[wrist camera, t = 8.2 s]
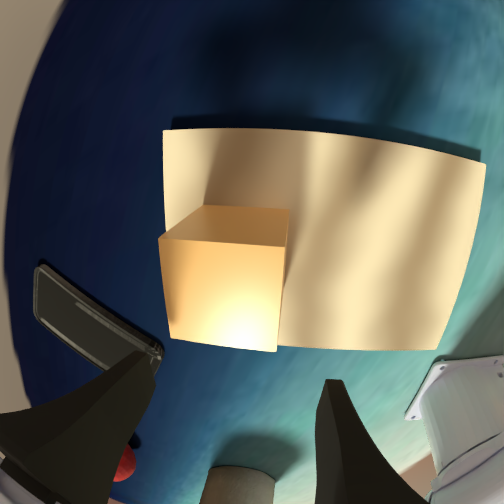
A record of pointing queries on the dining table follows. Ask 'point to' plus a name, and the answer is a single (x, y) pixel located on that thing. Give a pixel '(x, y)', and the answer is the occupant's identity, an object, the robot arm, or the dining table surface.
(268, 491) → the pillar candle
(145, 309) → the dining table surface
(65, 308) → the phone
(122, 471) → the tomato
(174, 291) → the tan foam cube
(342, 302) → the board
